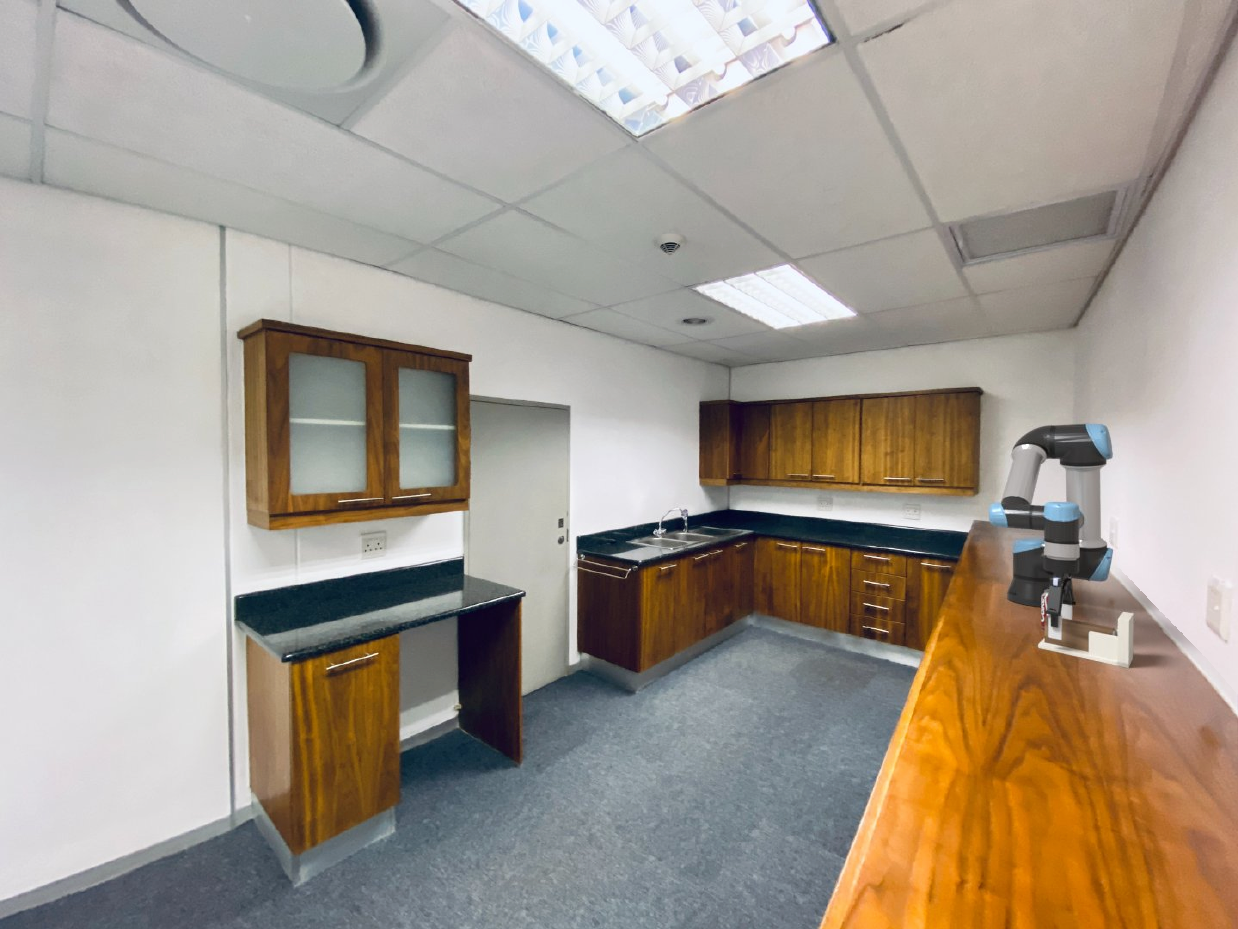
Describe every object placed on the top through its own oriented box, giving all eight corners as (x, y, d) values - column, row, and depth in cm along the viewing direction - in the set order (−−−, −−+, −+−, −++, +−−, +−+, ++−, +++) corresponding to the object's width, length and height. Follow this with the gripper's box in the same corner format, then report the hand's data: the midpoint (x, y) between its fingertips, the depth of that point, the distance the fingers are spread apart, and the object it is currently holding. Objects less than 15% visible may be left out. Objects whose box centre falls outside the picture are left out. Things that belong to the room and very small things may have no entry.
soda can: (1076, 634, 153) (1076, 594, 153) (1053, 634, 153) (1053, 594, 153) (1057, 626, 160) (1057, 588, 159) (1035, 626, 160) (1035, 588, 159)
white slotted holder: (1046, 639, 149) (1046, 599, 149) (1133, 658, 135) (1133, 613, 135) (1038, 647, 143) (1038, 605, 143) (1128, 668, 129) (1128, 621, 129)
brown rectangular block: (1047, 639, 146) (1047, 615, 146) (1116, 654, 135) (1116, 628, 135) (1044, 642, 144) (1044, 617, 144) (1114, 657, 133) (1114, 631, 133)
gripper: (1054, 549, 153) (1053, 619, 153) (1032, 561, 137) (1032, 639, 138) (1087, 553, 147) (1086, 626, 148) (1069, 566, 131) (1068, 647, 132)
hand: (1060, 632), depth 143 cm, fingers open, 13 cm apart
